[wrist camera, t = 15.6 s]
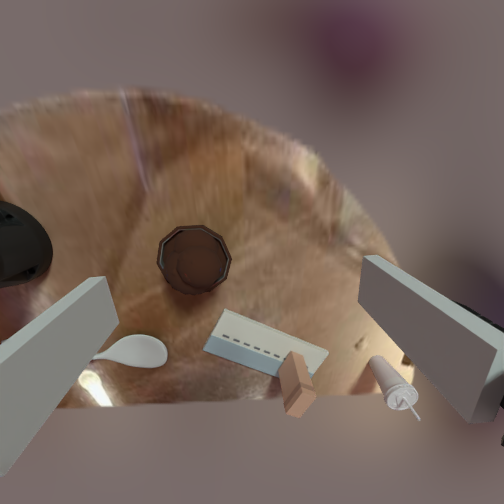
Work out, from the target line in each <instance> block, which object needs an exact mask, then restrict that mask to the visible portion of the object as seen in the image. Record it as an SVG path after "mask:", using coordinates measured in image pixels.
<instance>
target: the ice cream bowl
mask: <svg viewBox="0 0 504 504" xmlns="http://www.w3.org/2000/svg"><path fill="white" fill-rule="evenodd" d="M231 261H232V258H231V255H230V253H229V251H228V249H227V246H226V244H225V242H224V240H223V237H222V236H220V235H219V234H217V233H215V232H214V231H212V230H211V229H209V228H207V227H206V226H204V225H192V226H179V227H176V228H175V229H174V230H173V231H172V232H170V233H169V234H168V235H167V236H166V237H165V238H163V239H162V240H161V241H160V243H159V250H158V256H157V265H158V267H159V268H160V270H161V272H162V274H163V275H164V277H165V279H166V281H167V282H168V283H169V284H171V286H172V288H174V289H176V290H177V291H180V292H181V293H183V294H192V295H196V294H202V293H204V292H210V291H211V290H213V289H214V288H215V287H217V286H218V285H219V284H221V283H222V282H223V281H225V280H226V279H227V276H228V272H229V268H230V264H231Z"/></svg>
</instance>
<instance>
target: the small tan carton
mask: <svg viewBox="0 0 504 504" xmlns="http://www.w3.org/2000/svg"><path fill="white" fill-rule="evenodd" d="M278 372H279V378H280V383H281V389H282V395H283V400H284V408H285V411H286V414H288V415H291V416H294V417H297V418H300V417H301V416H302V415H303V413H304V412H305V411H306V410H307V409H308V407H309V406H310V405H311V404H312V402H313V401H314V400H315V399H316V398H317V397H316V394H315V390H314V387H313V385H312V382H311V378H310V375H309V372H308V369H307V366H306V363H305V360H304V357H303V355H301V354H298V353H296V352H293V351H291V352H290V354H289V355H288V357H287V358H286V359H285V361H284V362H283V364H282V365H281V367H280V368H279V369H278Z"/></svg>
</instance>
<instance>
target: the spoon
mask: <svg viewBox="0 0 504 504" xmlns="http://www.w3.org/2000/svg"><path fill="white" fill-rule="evenodd" d="M6 340H7V339H6ZM6 340H3V341H1V343H3V342H5V341H6ZM167 357H168V352H167V348H166V346H165V345H164V344H163V343H162V342H161V341H160V340H158V339H156V338H154V337H151V336H148V335H130V336H127V337H124V338H122V339H120V340H119V341H117V342H116V343H115V344H113V345H112V346H111V347H110V348H109V349H107V350H106V351H104V352H102V353H99V354H95V356H94V357H93V358H92V360H94V359H108V360H112V361H116V362H119V363H122V364H125V365H129V366H133V367H142V368H155V367H159V366H162V365H163V364H165V362H166V361H167Z"/></svg>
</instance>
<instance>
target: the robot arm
mask: <svg viewBox="0 0 504 504" xmlns="http://www.w3.org/2000/svg"><path fill="white" fill-rule="evenodd" d="M51 259H52V246H51V242H50V239H49V237H48V235H47V233H46V231H45V230H44V228H43V227H42V226H41V224H40V223H39V222H38V221H37V220H36V219H35V218H34V217H33V216H32V215H30V214H29V213H28V212H26V211H25V210H23V209H21V208H20V207H18V206H15V205H13V204H11V203H8V202H4V201H0V288H4V287H9V286H14V285H19V284H23V283H26V282H28V281H30V280H32V279H34V278H36V277H38V276H40V275H41V274H43V273H44V272H45V271H46V270H47V268H48V267H49V265H50V263H51ZM358 303H359V304H360V305H361V306H362V307H363V308H364V309H365V310H366V311H367V312H368V314H369V315H370V316H371V317H372V318H373V319H374V320H375V321H376V322H377V324H378V325H379V326H380V327H381V328H382V329H383V330H384V331H385V332H386V333H387V335H388V336H389V337H390V338H391V339H392V340H393V341H394V342H395V343H396V344H397V346H398V347H399V348H400V349H401V350H402V351H403V352H404V353H405V354H406V355H407V357H408V358H409V359H410V360H411V361H412V362H413V363H414V364H415V365H416V366H417V368H418V369H419V370H420V371H421V372H422V373H423V374H424V375H425V376H426V377H427V378H428V380H429V381H430V382H431V383H432V384H433V385H434V386H435V387H436V388H437V390H439V392H440V393H441V394H442V395H443V396H444V397H445V398H446V399H447V401H448V402H449V403H450V404H451V405H452V406H453V407H454V408H455V409H456V410H457V412H458V413H459V414H460V415H461V416H462V417H463V418H464V419H465V420H466V421H467V422H468V424H473V423H482V422H491V421H494V419H495V417H496V415H497V412H498V410H499V408H500V406H501V407H502V408H503V409H504V328H502V327H500V326H499V325H497V324H493V322H492V321H491V320H489V319H487V318H485V317H484V316H481V315H480V314H479V313H477V312H476V311H474V310H472V309H471V308H469V307H467V306H465V305H462V304H460V303H458V302H455V301H453V300H450V299H448V298H446V297H445V296H443V295H441V294H440V293H438V292H436V291H435V290H433V289H432V288H430V287H428V286H427V285H425V284H424V283H422V282H420V281H419V280H417V279H415V278H414V277H412V276H411V275H409V274H407V273H406V272H404V271H402V270H401V269H399V268H398V267H396V266H394V265H393V264H391V263H390V262H388V261H386V260H385V259H383V258H381V257H380V256H378V255H371V256H363V261H362V269H361V278H360V287H359V295H358ZM118 324H119V320H118V317H117V313H116V310H115V307H114V303H113V300H112V297H111V294H110V290H109V287H108V284H107V280H106V277H105V276H103V277H90V278H88V279H87V280H86V281H84V282H83V283H82V284H80V285H79V286H78V287H76V288H75V289H74V290H72V291H71V292H70V293H68V294H67V295H66V296H64V297H63V298H62V299H60V300H59V301H58V302H56V303H55V304H54V305H52V306H51V307H50V308H48V309H47V310H46V311H44V312H43V313H42V314H40V315H39V316H38V317H37V318H35V319H34V320H33V321H31V322H30V323H29V324H27V325H26V326H25V327H23V328H22V329H21V330H19V331H18V332H17V333H15V334H14V335H13V336H11V337H10V338H9V339H7V340H6V341H5V342H3V343H2V344H1V345H0V477H2V476H5V474H6V473H7V472H8V470H9V469H10V467H11V466H12V465H13V464H14V462H15V461H16V460H17V458H18V457H19V456H20V454H21V453H22V452H23V450H24V449H25V448H26V446H27V445H28V444H29V442H30V441H31V440H32V438H33V437H34V436H35V434H36V433H37V432H38V430H39V429H40V428H41V426H42V425H43V424H44V422H45V421H46V420H47V418H48V417H49V415H50V414H51V413H52V412H53V410H54V409H55V408H56V406H57V405H58V404H59V402H60V401H61V400H62V398H63V397H64V396H65V394H66V393H67V392H68V390H69V389H70V388H71V386H72V385H73V384H74V382H75V381H76V380H77V378H78V377H79V376H80V374H81V373H82V372H83V370H84V369H85V368H86V366H87V365H88V364H89V362H90V361H91V360H92V358H93V357H94V356H95V354H96V353H97V352H98V350H99V349H100V348H101V346H102V345H103V344H104V342H105V341H106V340H107V338H108V337H109V336H110V334H111V333H112V332H113V330H114V329H115V328H116V326H117V325H118ZM501 445H502V446H504V435H503V437H502V440H501Z"/></svg>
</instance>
